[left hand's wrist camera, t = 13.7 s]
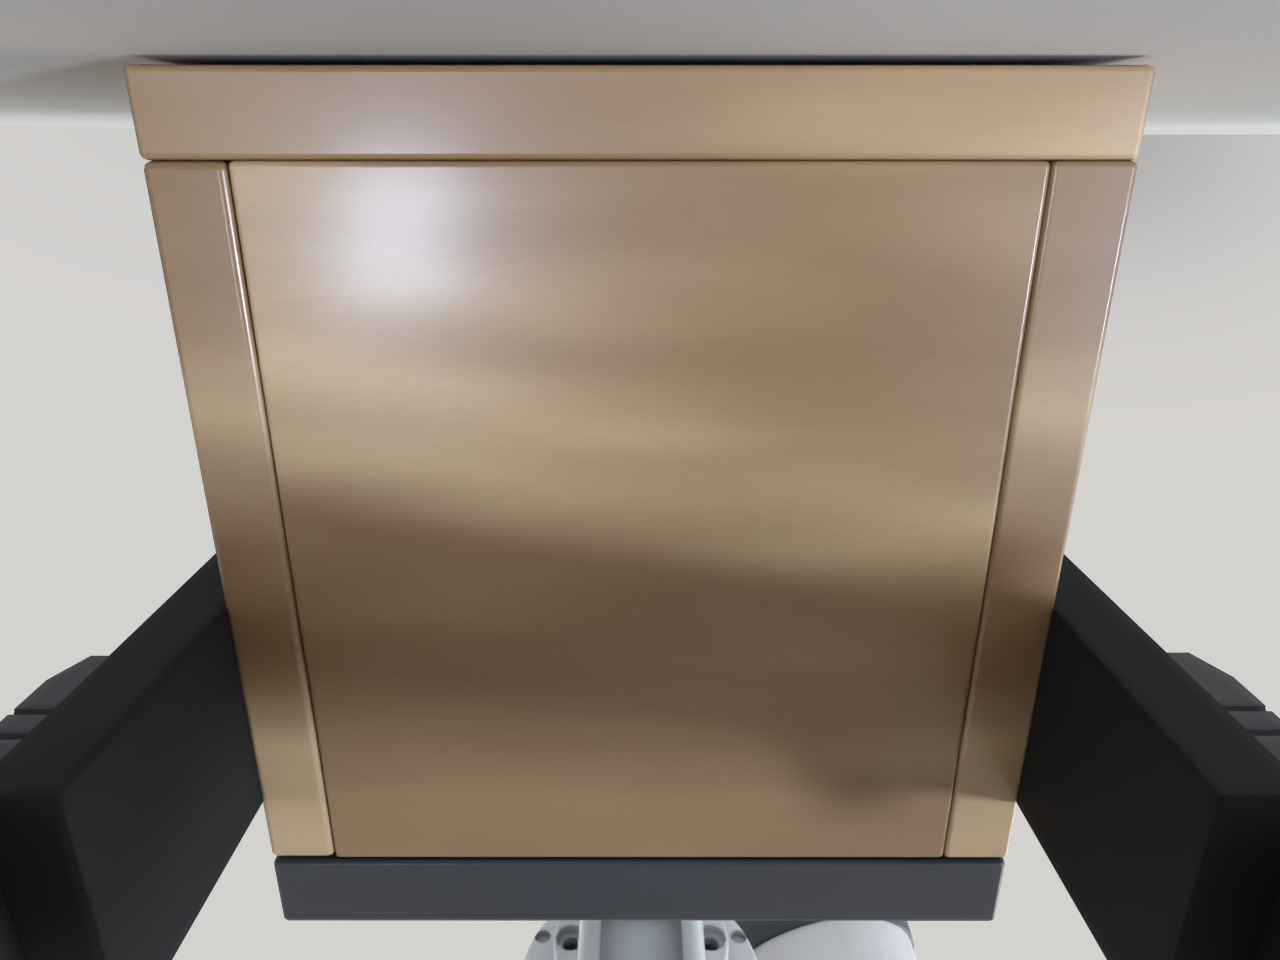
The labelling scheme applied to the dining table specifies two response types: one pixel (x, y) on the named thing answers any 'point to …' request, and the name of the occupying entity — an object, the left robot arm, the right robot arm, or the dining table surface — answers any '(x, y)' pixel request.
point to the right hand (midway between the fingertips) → (641, 688)
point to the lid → (640, 888)
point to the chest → (639, 438)
